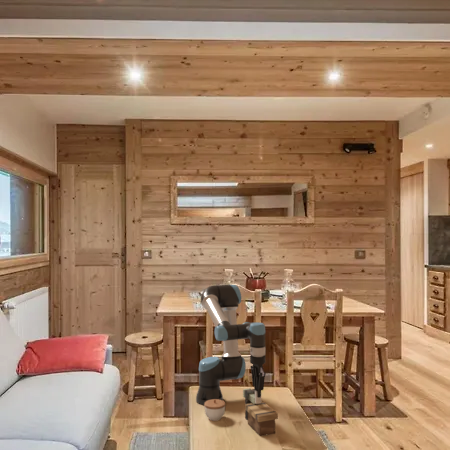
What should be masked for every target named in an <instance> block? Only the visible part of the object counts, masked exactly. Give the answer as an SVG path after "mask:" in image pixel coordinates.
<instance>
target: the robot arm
mask: <svg viewBox="0 0 450 450" xmlns="http://www.w3.org/2000/svg"><path fill="white" fill-rule="evenodd" d="M241 293H242V292H241V290H240V288H239V286H238V285H236V284H231V283H229V284H217V285H216V284H214V285H209V286H207V287H206V288H205V289H204V290H203V291H202V294H201V295H200V303H201V305H202V307H203V309H205V310H207V313H208V315H209V317H210V319H211V321H212V323H213V324H214V337H215V340H216V341H217V342H220V341H221V342H222V343H223V353H222V355H221V359H220V358H219V357H218V356H208V357H205V358H202V359H201V360H200V361H199V364H198V390H197V392H196V395H195V401H196V403H197V404H199V405H203V406H204V403H205V402H206V401H208V400H212V399H219V400H222V401H224V397H223V392H222V389H221V387H220V386H221V385H220V382H222V381H230V380H239V379H242V378H244V377H245V376H244V375H245V373H246V360H245V358H244V357H243V356H242V354H241V353H240V352H239V340H246V339H247V340H249V347H250V348H249V352H250V353H249V354H250V356H249V360H250V361H249V362H250V364H252V365H250V371H251V372H250V373H251V383H252V387H254V388H253V389H255V403H256V404H259V403H261V402H262V391H264V388H265V378H266V371H264V364H266V325H265V324H264V323H263V322H260V321H259V322H257V321H256V322H249V321H244V322H243V323H238V322H237V321H238V320H237V318H238V317H237V309H239V305H240V304H241V303H242V294H241Z"/></svg>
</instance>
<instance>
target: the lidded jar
mask: <svg viewBox="0 0 450 450" xmlns="http://www.w3.org/2000/svg"><path fill="white" fill-rule="evenodd" d="M203 406H204V413H205V416H206V417H207V418H208V420H209V421H212V422H213V421H215V422H216V421H219V420H221V419H222V418H223V416H224V414H225V412H226V402H225V401H224V400H223V401H222V400H219V399H212V400H208V401H206V402H205V403H204V405H203Z"/></svg>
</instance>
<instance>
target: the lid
mask: <svg viewBox="0 0 450 450" xmlns="http://www.w3.org/2000/svg"><path fill="white" fill-rule="evenodd" d="M244 410H246V411H247V412H248V413H249V414H251V415H252V416H253V417H254V418H255V419H256V420H257V421H258V422H262V421H268V420H274V419H275V420H278V419H279V418H278V417H279V414H278V412H277V411H275V409H273V408H272V407H270V406H269V405H268V404H267V403H266V402H264V401H261V403H259V404H253V403H250V404H245V403H244Z"/></svg>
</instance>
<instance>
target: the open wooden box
mask: <svg viewBox="0 0 450 450" xmlns="http://www.w3.org/2000/svg"><path fill="white" fill-rule="evenodd" d="M247 425H248V426H249V427H250V428H251V429H252V430H253V431H254V432H255V433H256V434H257V435H258V436H259V437H262V436H263V437H264V436H267V435H273V434H276V419H274V420H268V421H262V422H258V421H257V420H256V419H255V418H254V417H253V416H252V415H251V414H249V413H248V420H247Z"/></svg>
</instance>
